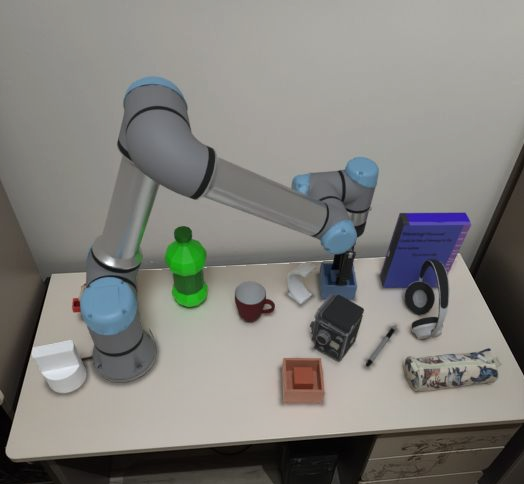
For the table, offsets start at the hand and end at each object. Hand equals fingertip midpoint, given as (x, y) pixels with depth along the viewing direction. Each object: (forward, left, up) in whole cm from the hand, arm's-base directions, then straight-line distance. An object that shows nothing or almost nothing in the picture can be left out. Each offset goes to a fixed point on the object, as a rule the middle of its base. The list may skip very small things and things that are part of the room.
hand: (337, 280), depth 138 cm
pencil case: (+24, -31, -3) cm, 39 cm away
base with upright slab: (-69, -31, -3) cm, 76 cm away
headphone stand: (-11, -3, -3) cm, 12 cm away
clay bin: (-12, -33, -3) cm, 35 cm away
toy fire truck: (-68, -10, -3) cm, 69 cm away
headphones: (+21, -12, -3) cm, 25 cm away
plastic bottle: (-41, -5, -3) cm, 42 cm away
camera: (-4, -20, -3) cm, 21 cm away
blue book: (+22, +3, -3) cm, 23 cm away
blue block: (0, 0, -3) cm, 3 cm away
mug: (-23, -11, -3) cm, 26 cm away
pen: (+10, -20, -3) cm, 23 cm away
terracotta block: (-12, -32, -3) cm, 35 cm away
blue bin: (0, 0, -3) cm, 3 cm away
